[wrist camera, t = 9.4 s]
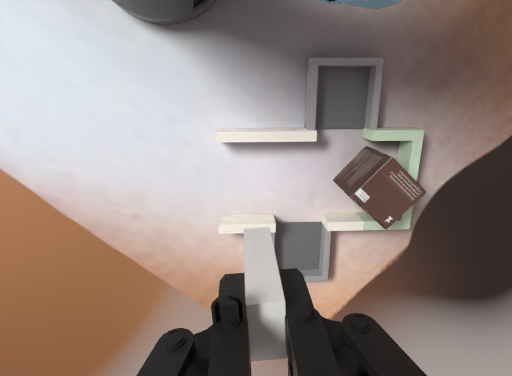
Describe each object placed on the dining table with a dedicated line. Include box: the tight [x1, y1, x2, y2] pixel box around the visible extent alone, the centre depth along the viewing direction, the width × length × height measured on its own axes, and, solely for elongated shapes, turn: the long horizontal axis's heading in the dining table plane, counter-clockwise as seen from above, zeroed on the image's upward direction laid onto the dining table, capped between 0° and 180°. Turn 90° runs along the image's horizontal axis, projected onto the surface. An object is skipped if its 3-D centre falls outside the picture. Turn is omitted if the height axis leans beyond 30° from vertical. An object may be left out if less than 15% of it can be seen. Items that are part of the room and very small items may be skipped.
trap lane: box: [215, 57, 424, 282], centre depth 39 cm, size 28×24×3 cm
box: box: [333, 146, 426, 229], centre depth 37 cm, size 6×6×7 cm
